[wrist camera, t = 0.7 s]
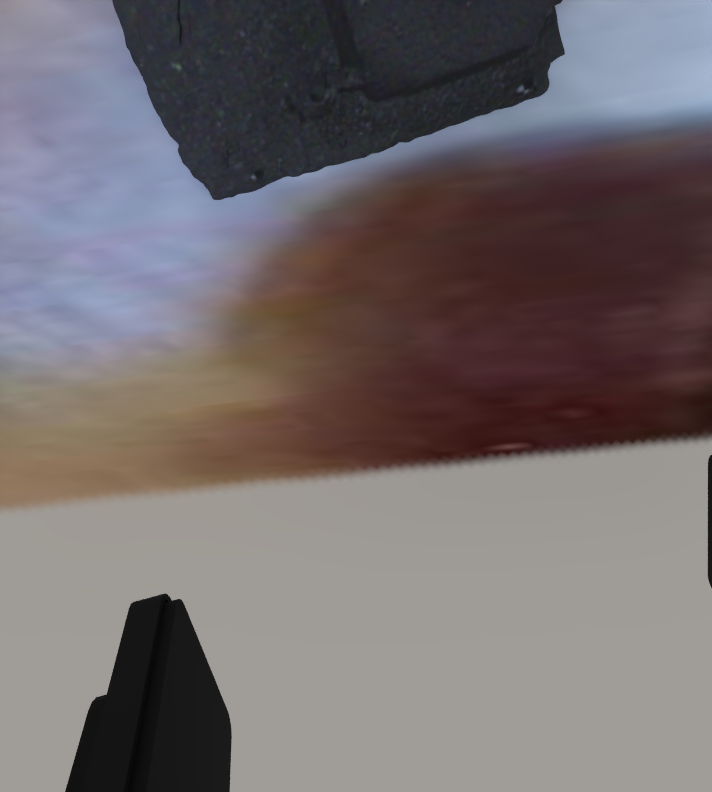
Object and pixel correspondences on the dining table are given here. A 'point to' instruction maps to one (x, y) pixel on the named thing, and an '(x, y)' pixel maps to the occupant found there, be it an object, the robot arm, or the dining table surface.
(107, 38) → the dining table surface
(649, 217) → the dining table surface
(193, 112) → the dark slate chunk
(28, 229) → the dining table surface
